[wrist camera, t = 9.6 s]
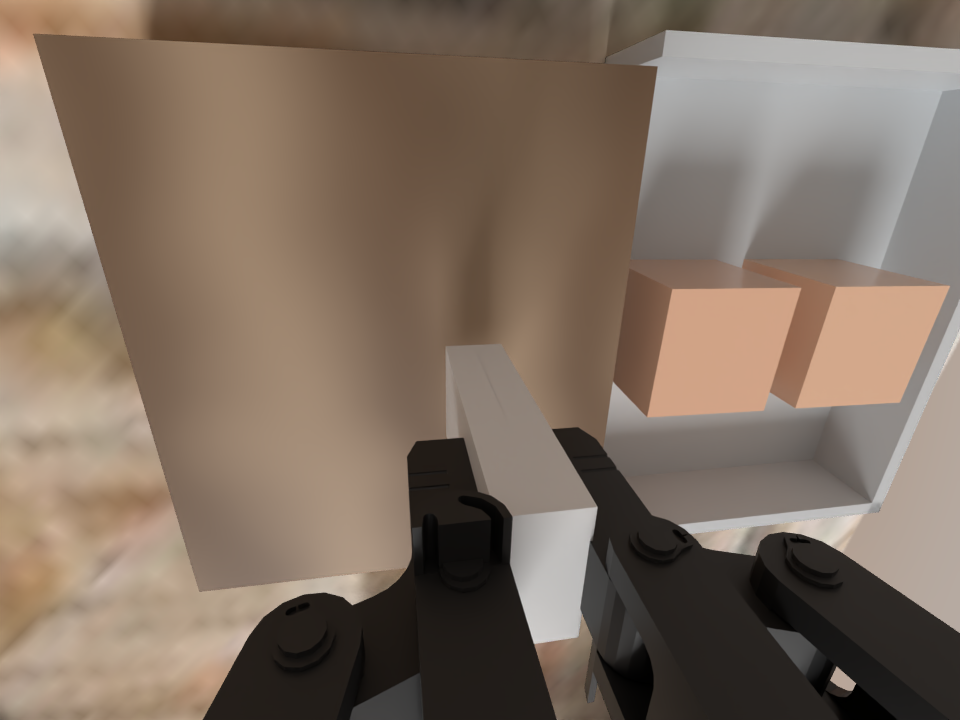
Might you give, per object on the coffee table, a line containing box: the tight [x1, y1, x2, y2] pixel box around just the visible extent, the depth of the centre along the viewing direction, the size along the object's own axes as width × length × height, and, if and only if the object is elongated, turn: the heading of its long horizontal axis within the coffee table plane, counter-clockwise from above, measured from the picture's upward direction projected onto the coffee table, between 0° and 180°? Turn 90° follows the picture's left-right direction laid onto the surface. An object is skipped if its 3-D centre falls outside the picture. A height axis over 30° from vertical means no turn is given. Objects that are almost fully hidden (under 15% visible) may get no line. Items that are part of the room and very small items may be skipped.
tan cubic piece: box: [613, 259, 801, 417], centre depth 18 cm, size 4×4×4 cm
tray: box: [603, 30, 960, 534], centre depth 19 cm, size 14×18×4 cm
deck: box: [33, 34, 658, 592], centre depth 16 cm, size 14×16×5 cm
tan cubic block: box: [742, 259, 950, 408], centre depth 19 cm, size 4×4×4 cm
